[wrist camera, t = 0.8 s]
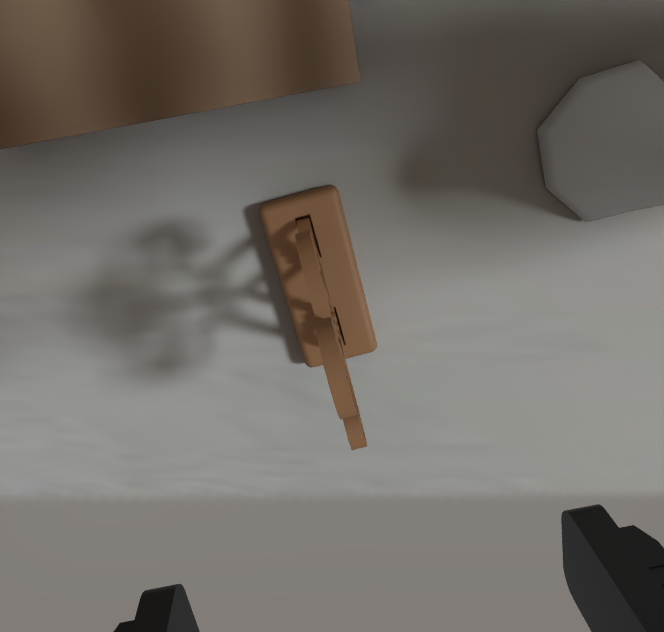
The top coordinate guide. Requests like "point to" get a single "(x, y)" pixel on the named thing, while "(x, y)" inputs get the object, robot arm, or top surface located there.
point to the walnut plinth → (160, 59)
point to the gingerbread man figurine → (322, 290)
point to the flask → (607, 143)
